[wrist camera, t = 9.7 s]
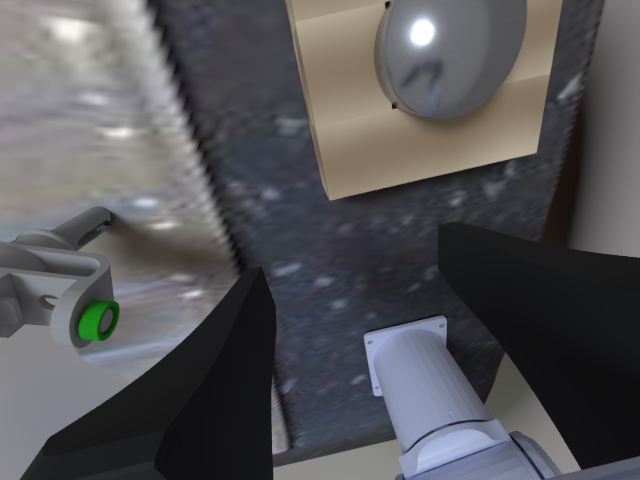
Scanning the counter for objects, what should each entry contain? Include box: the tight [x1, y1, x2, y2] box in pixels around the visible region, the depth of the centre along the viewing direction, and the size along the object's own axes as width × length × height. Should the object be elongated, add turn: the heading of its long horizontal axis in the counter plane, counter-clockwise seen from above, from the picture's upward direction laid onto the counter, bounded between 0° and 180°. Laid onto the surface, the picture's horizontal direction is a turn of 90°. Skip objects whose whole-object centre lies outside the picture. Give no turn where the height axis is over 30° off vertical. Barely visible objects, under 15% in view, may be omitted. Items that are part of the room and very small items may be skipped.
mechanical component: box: [0, 207, 119, 348], centre depth 14 cm, size 3×10×10 cm, turn 77°
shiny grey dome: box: [374, 0, 527, 118], centre depth 13 cm, size 6×6×6 cm
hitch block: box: [285, 0, 563, 200], centre depth 14 cm, size 12×12×4 cm
